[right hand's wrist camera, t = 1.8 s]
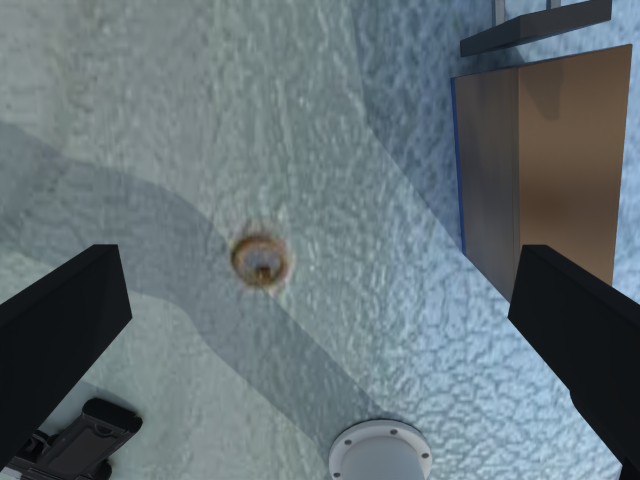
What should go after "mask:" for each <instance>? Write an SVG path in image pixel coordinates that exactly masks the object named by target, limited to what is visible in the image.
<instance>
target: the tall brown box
mask: <svg viewBox="0 0 640 480" xmlns="http://www.w3.org/2000/svg"><path fill="white" fill-rule="evenodd" d="M571 55H572V56H568V57H563V58H558V59H553V60H548V61H544V62H539V63H534V64H529V65H524V66H518V67H513V68H507V69H501V70H495V71H489V72H484V73H478V74H470V75H465V76H460V77H456V78H451V91H452V105H453V120H454V135H455V149H456V164H457V179H458V193H459V208H460V223H461V237H462V252H463V254H464V256H465V257H467V258H468V259H469V260H470V261H471V263H472V264H473V265H474V266H475V267H476V268H477V269H478V270H479V271H480V272H481V273H482V274H483V275H484V276H485V278H486V279H487V280H488V281H489V282H490V283H491V284H492V285H493V286H494V287H495V288H496V289H497V290H498V291H499V293H500V294H501V295H502V296H503V297H504V298H505V299H506V300H507V301H508V302H509V303H511V298H512V293H513V288H514V283H515V279H516V274H517V269H518V264H519V259H520V254H521V250H522V245H523V244H546V245H548V246H549V247H551V248H552V249H554V250H556V251H557V252H559V253H560V254H562V255H563V256H565V257H566V258H568V259H570V260H571V261H573V262H574V263H576V264H577V265H579V266H580V267H582V268H583V269H585V270H587V271H588V272H590V273H591V274H593V275H594V276H596V277H597V278H599V279H601V280H602V281H604V282H605V283H607V284H608V285H610V286H611V287H612V279H613V267H614V256H615V244H616V232H617V221H618V209H619V197H620V186H621V174H622V162H623V151H624V139H625V127H626V115H627V104H628V92H629V80H630V69H631V57H632V44H626V45H620V46H615V47H610V48H604V49H599V50H593V51H590V52H589V51H588V52H587V53H584V52H582V54H578V53H577V55H573V54H571ZM566 56H567V55H566ZM561 57H562V56H561ZM555 58H556V57H555ZM550 59H551V58H550ZM544 60H545V59H544ZM539 61H540V60H539ZM533 62H534V61H533ZM527 63H529V62H527Z"/></svg>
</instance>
